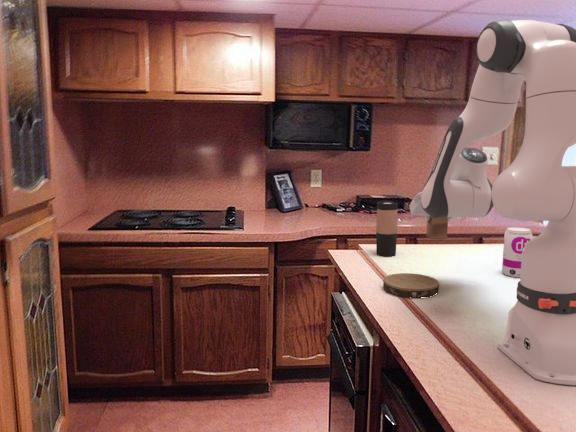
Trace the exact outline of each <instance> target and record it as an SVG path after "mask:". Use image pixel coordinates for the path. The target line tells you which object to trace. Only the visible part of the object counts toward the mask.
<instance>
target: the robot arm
mask: <svg viewBox="0 0 576 432" xmlns="http://www.w3.org/2000/svg"><path fill="white" fill-rule="evenodd" d="M475 55H476V58H477V61H478V63H479V65H478V67H477V70H476V73H475V76H474V79H473V82H472V84H471V89H470V93H469V98H468V102H467V103H466V106H465V108H464V109H463V111H462V113H460V115H459V116H458V117H456V118H455V119H453V120H452V121H451V122H450V124H449V125H448V128H447V129H446V133H445V134H444V137H443V140H442V141H441V145H440V147H439V150H438V153H437V156H436V158H435V161H434V163H433V165H432V166H433V167H432V169H431V172H430V175H429V177H428V178H427V180H426V182H425V183H424V186H423V188H422V191H421V192H419V193H417V194H415V195H414V198H413V199H412V200H411V202H410V204H409V207H408V208H409V211H410V214H411V215H412V216H414V217H422V216H423V217H424V221H425V223H427V222H431V220H432V218H445V217H448V223H450V221H451V220H452V219H454V218H484V217H486V216H487V215H488V214H489V213H490V212H491V211H492V209H493V208H494V210H496V213H498V214H499V215H500V216H501V217H503V218H507V219H511V220H517V221H522V222H543V221H545V222H547V221H548V222H547V224H546V226H545V228H544V229H543V230H542V232H541V233H540V234H539V235H537V236H535V237H534V238H532V240H530V241H529V242H528V243H527V244H526V245H525V247H524V248H523V251H522V262H521V276H520V278H519V281H518V282H517V286H516V300H517V301H516V303H515V304H514V306H513V307H512V308H510V310H509V311H508V315H507V319H506V320H507V321H506V328H505V329H506V330H505V336H504V339H503V340H500V341H498V343H497V348H498V350H500V351H501V352H502V353H504V355H506V357H508V358H509V359H510V360H512V361H513V362H514V363H515V364H517V366H519V367H520V368H521V369H523V371H524V372H527V373H528V374H529V375H530V376H531V377H532V378H533V379H536V380H538V381H542V382H547V383H552V384H557V385H569V386H576V165H569V166H568V165H563V160H564V157H565V153H566V152H567V150H568V149H569V148H570V147H572V146H575V144H576V28H575V27H572V26H570V25H567V24H564V23H552V22H545V21H539V20H535V19H518V20H516V19H515V20H510V19H507V18H506V19H499V20H495V21H491V22H489V23H488V24H486V26H484V28H483V29H482V30H481V32H480V33H479V36H478V38H477V41H476V45H475ZM524 82H525V123H524V124H525V125H524V136H523V141H522V144H521V147H520V149H519V151H518V154H517V155H516V157H515V158H514V160H513V161H512V163H510V165H509V166H507V168H506V169H504V170H503V171H501V172H500V173H499V174H498V175H497V177H495V178H496V179H494V181H493V184H492V182H491V181H490V179H489V178H488V173H487V168H488V164H489V163H488V162H489V159H488V156H487V155H486V153H485V151H483V150H481V149H478V148H474V147H468V146H470V145H472V144H474V143H476V142H479V141H483V140H485V139H489V138H492V137H494V136H496V135H499V134H500V133H502V132H503V131H505V130H506V129H508V128H509V126H510V125H512V122H513V120H514V118H515V116H516V115H515V114H516V112H517V108H518V103H519V99H520V95H521V90H522V89H521V88H522V85H523V83H524ZM431 217H432V218H431Z"/></svg>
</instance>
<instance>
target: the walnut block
mask: <svg viewBox="0 0 576 432" xmlns="http://www.w3.org/2000/svg"><path fill="white" fill-rule="evenodd" d="M431 218H432V217H431ZM448 223H449V222H448V217H445V218H432V220H431V222H426V235H425V236H426V238H429V239H430V240H447V239H448V230H449V229H448V226H449V225H448Z"/></svg>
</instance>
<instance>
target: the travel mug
mask: <svg viewBox="0 0 576 432" xmlns="http://www.w3.org/2000/svg"><path fill="white" fill-rule="evenodd" d="M398 205H399V204H398V202H394V201H391V200H381V201H377V202H376V227H375V228H376V231H375V237H376V239H375V240H376V241H375V242H376V247H375V249H376V250H375V251H376V256H378V255H379V257H381V256H383V257H382V258H391V257H392V256H393V257H396V255H397V238H398ZM393 257H392V258H393Z"/></svg>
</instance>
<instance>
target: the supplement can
mask: <svg viewBox="0 0 576 432" xmlns="http://www.w3.org/2000/svg"><path fill="white" fill-rule="evenodd" d="M503 236H504V237H503V249H502V250H503V251H502V265H501V272H502V273H503V274H504V276H507V275H508V276H507V277H510V276H511V278H518V279H520V276H521V262H522V251H523V248H524V247H525V245H526V244H527V243H528V242H529V241H530V240H532V239H534V238H533V236H534V235H533V233H532V230H531V228H529V227H527V228H526V227H522V226H521V227H519V226H510V227H506V230H505V231H504V235H503Z"/></svg>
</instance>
